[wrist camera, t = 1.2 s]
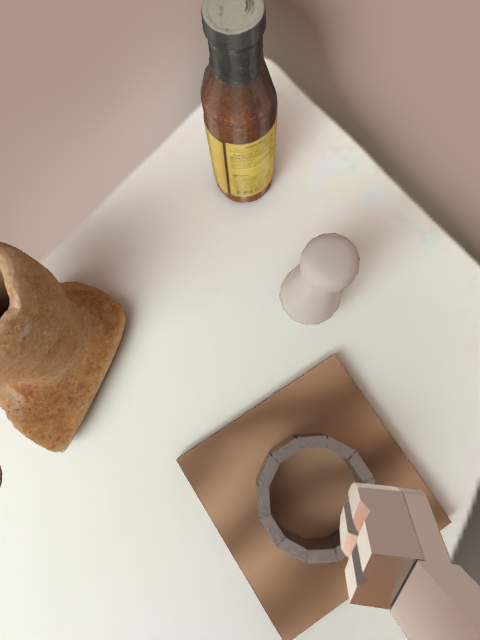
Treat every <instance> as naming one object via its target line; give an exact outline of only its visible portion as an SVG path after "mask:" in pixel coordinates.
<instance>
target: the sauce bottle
mask: <svg viewBox="0 0 480 640" xmlns="http://www.w3.org/2000/svg"><path fill="white" fill-rule="evenodd" d="M201 14H202V24H203V30H204V33H205V36H206V38H207V39H208V45H209V51H210V57H209V64H208V66H207V67H206V69H205V73H204V77H203V82H202V87H201V101H202V107H203V110H204V123H205V128H206V134H207V139H208V144H209V149H210V154H211V160H212V165H213V170H214V175H215V179H216V181H217V185H218V187H219V188H220V189H221V191H222V192H223V193H224V194H225V195H226V196H227V197H229V198H230V199H231V200H233V201H236V202H251V201H255V200H257V199H258V198H260V197H262V196H263V195H264V194H265V193H266V191H267V190H268V189H269V187H270V185H271V182H272V177H273V173H274V160H275V141H276V124H277V95H276V91H275V87H274V85H273V82H272V80H271V77H270V74H269V71H268V69H267V66H266V63H265V61H264V57H263V51H262V49H263V43H262V42H263V41H262V40H263V33H264V31H265V27H266V11H265V4H264V1H263V0H204V1H203V3H202V9H201Z"/></svg>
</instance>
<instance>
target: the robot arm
mask: <svg viewBox="0 0 480 640" xmlns="http://www.w3.org/2000/svg"><path fill="white" fill-rule="evenodd" d="M1 483H2V470H1V467H0V486H1ZM348 496H349V503H347V504H346V505H344V506H343V509H342V513H341V518H340V541H341V549H342V551H343V552H344V553H345V555H346V556H347V557H348V559H349V560H348V563H347V566H346V568H345V576H346V582H347V588H348V595H349V601H350V603H351V604H358V605H364V606H371V607H377V608H384V609H391V611H390V613H391V614H392V616H393V617H394V619H395V620H396V622H397V623H398V625H399V626H400V628H401V629H402V631H403V632H404V634H405V636H406V637H407V639H408V640H480V586H479V585H478V584H477V583H476V582H475V581H474V580H473V579H472V578H471V577H470V576H469V575H468V574H467V573H466V572H465V571H464V570H463V569H462V568H461V567H460V566H459V565H453V564H452V562H451V560H450V557H449V554H448V552H447V549H446V547H445V544H444V541H443V539H442V536H441V533H440V531H439V528H438V525H437V523H436V520H435V518H434V515H433V512H432V510H431V507H430V504H429V502H428V499H427V497H426V494H425V493H424V492H423V491H422V490H415V489H406V488H397V487H393V486H383V485H374V484H364V483H353V484H352V485H351V486H350V489H349V492H348Z"/></svg>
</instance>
